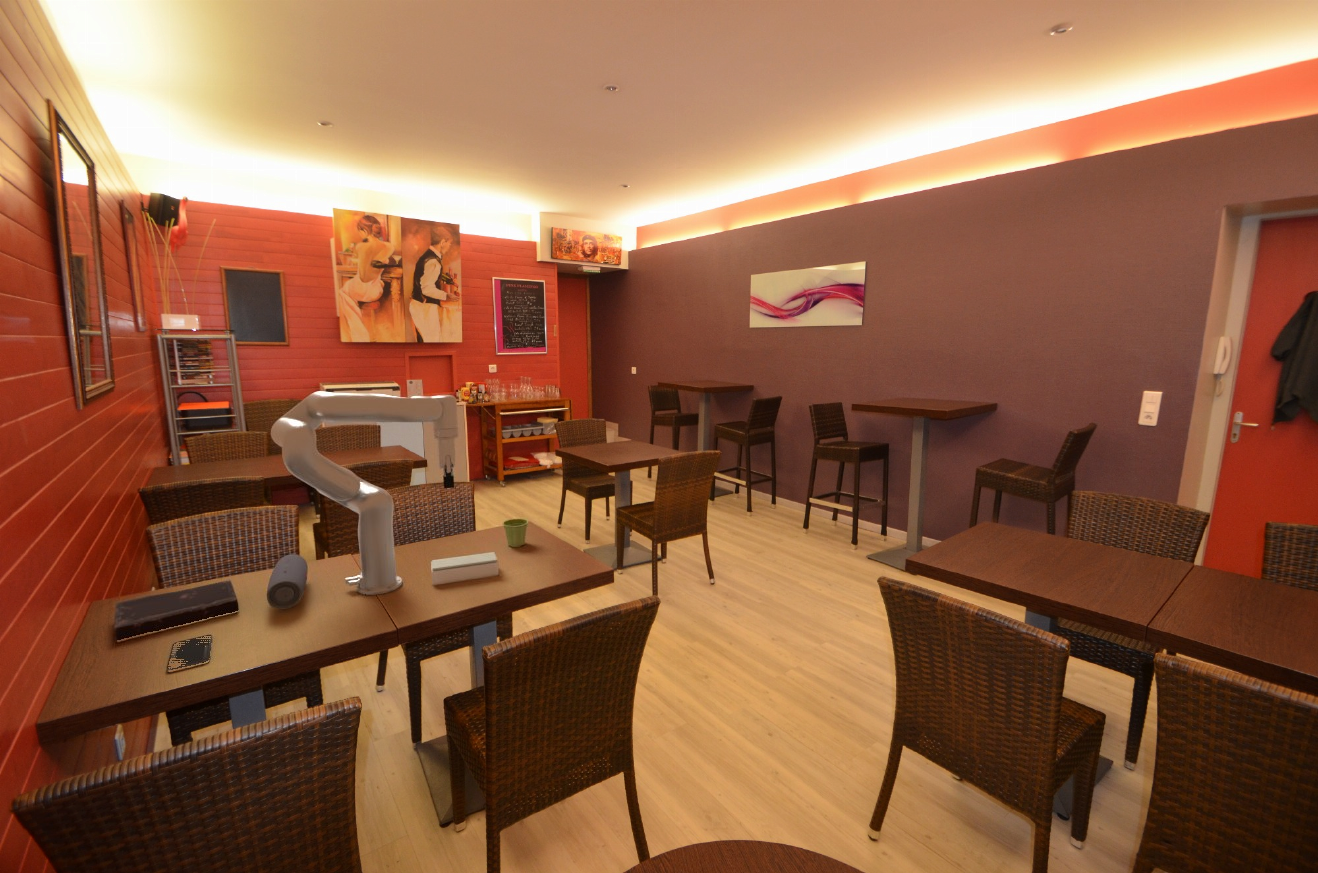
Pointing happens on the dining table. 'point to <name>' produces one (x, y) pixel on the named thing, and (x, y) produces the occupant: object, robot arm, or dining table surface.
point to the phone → (191, 652)
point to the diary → (173, 609)
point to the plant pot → (515, 531)
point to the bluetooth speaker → (287, 582)
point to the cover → (463, 561)
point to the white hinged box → (464, 573)
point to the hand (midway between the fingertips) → (449, 487)
